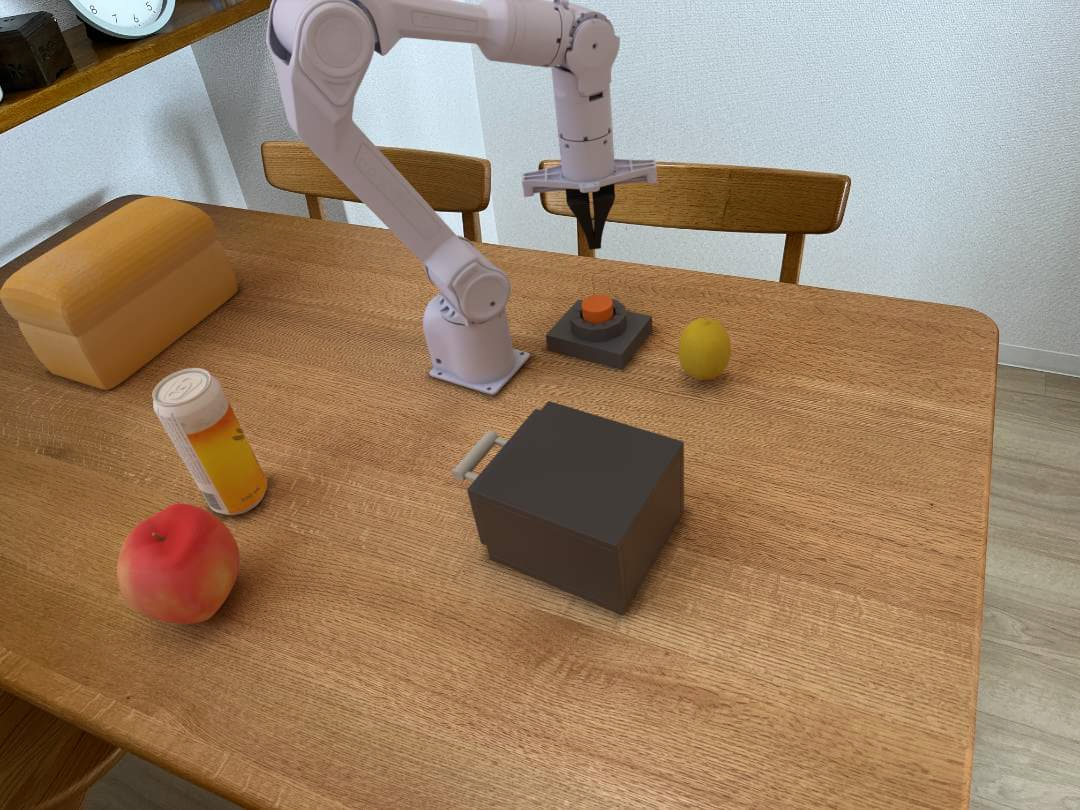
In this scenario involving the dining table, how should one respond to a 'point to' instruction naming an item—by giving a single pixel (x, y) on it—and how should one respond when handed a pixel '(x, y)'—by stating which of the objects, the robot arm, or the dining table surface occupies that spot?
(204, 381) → the beer can
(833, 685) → the dining table surface
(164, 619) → the apple
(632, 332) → the block
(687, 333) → the lemon
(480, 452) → the drawer
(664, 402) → the dining table surface
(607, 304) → the button
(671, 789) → the dining table surface
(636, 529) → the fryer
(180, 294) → the bread
